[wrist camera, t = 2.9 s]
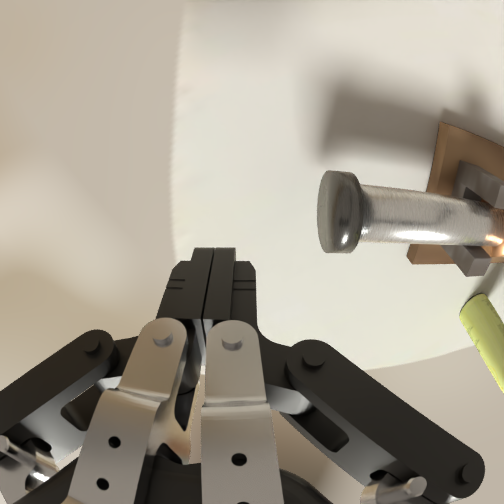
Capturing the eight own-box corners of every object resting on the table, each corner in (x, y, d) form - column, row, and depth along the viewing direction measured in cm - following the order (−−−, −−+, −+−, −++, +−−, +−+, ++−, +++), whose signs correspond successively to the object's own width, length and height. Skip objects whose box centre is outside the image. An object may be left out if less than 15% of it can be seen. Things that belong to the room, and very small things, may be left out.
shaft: (321, 156, 15) (347, 185, 11) (512, 192, 15) (545, 218, 11) (312, 228, 17) (330, 275, 13) (496, 237, 18) (525, 268, 14)
